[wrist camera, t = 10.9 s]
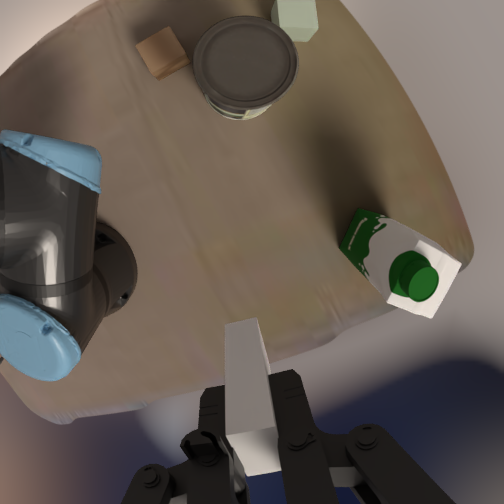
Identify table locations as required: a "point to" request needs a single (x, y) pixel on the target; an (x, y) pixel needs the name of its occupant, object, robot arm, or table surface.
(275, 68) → the coffee can
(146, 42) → the brown wooden cube
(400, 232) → the milk carton
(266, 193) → the table surface
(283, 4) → the sage block
